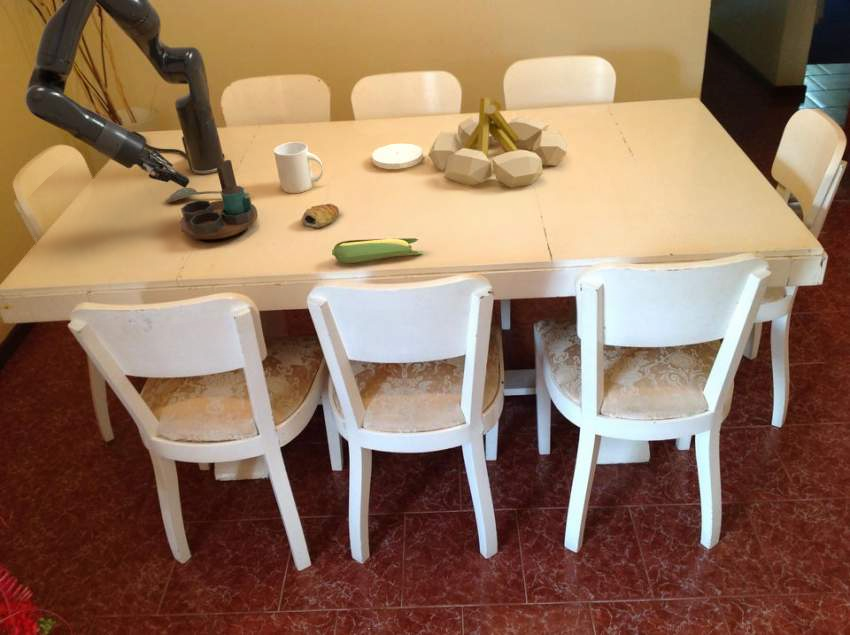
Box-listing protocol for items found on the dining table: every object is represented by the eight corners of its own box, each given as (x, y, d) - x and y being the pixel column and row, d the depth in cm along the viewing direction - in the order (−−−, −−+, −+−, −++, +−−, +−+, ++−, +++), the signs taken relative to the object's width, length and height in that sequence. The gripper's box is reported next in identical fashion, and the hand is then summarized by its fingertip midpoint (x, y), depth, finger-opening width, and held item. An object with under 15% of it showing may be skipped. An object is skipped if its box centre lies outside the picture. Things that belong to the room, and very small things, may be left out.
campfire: (479, 131, 217) (477, 73, 207) (584, 150, 199) (588, 88, 189) (408, 175, 194) (402, 112, 184) (520, 201, 177) (520, 134, 167)
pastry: (325, 208, 181) (323, 194, 179) (346, 214, 178) (344, 200, 176) (300, 224, 175) (297, 210, 173) (321, 231, 172) (318, 216, 169)
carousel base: (182, 236, 174) (180, 229, 173) (220, 213, 183) (218, 206, 182) (223, 247, 169) (221, 239, 167) (260, 222, 178) (258, 215, 176)
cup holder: (237, 241, 165) (226, 196, 159) (166, 236, 170) (153, 192, 163) (272, 204, 180) (263, 161, 174) (206, 200, 185) (195, 158, 178)
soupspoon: (175, 195, 195) (165, 208, 190) (171, 184, 193) (161, 196, 188) (253, 191, 192) (246, 204, 187) (250, 180, 190) (242, 192, 185)
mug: (321, 194, 188) (315, 154, 182) (277, 194, 190) (269, 155, 184) (330, 179, 195) (324, 141, 189) (287, 180, 197) (279, 142, 191)
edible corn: (334, 256, 161) (331, 238, 159) (424, 248, 162) (423, 229, 159) (333, 268, 157) (330, 250, 154) (426, 259, 157) (424, 241, 155)
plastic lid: (413, 174, 195) (412, 165, 193) (365, 170, 199) (363, 161, 197) (430, 153, 205) (429, 145, 204) (383, 150, 209) (382, 142, 208)
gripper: (126, 140, 158) (197, 181, 168) (126, 120, 168) (194, 160, 178) (108, 167, 160) (180, 207, 170) (110, 146, 170) (177, 185, 180)
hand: (187, 183), depth 174 cm, fingers closed
